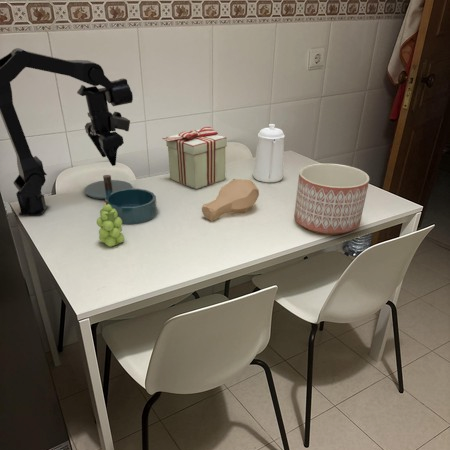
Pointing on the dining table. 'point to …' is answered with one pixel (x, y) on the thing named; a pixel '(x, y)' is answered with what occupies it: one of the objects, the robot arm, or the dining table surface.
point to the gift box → (197, 157)
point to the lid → (105, 187)
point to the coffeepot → (269, 155)
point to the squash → (232, 199)
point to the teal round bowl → (133, 205)
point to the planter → (330, 198)
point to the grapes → (110, 226)
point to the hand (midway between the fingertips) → (108, 161)
